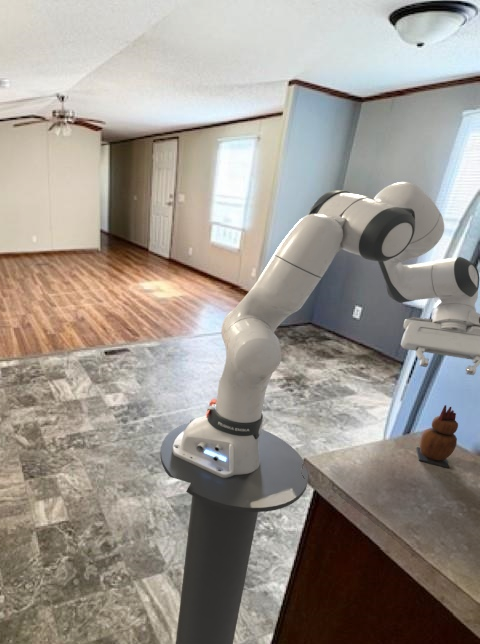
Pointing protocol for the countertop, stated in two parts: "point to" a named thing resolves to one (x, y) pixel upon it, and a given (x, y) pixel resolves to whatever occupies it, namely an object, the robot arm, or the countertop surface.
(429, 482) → the countertop surface
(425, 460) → the coaster
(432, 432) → the wooden figurine
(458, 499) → the countertop surface
